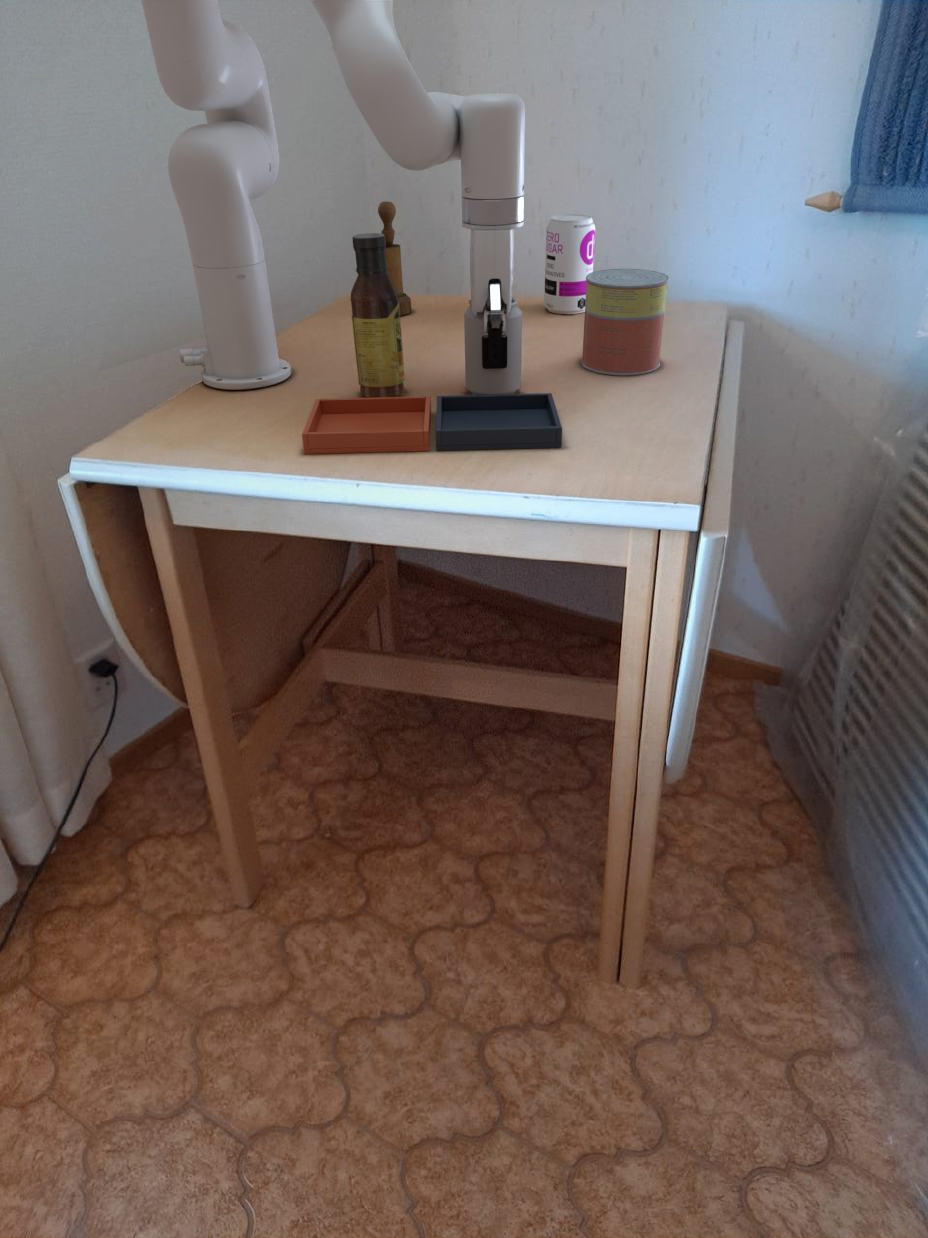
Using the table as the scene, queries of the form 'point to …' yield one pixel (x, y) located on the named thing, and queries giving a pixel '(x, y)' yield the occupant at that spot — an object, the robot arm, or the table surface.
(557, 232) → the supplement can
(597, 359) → the canned food
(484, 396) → the charcoal tray
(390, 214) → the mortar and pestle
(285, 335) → the table surface
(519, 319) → the can
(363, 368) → the sauce bottle
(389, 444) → the terracotta tray
